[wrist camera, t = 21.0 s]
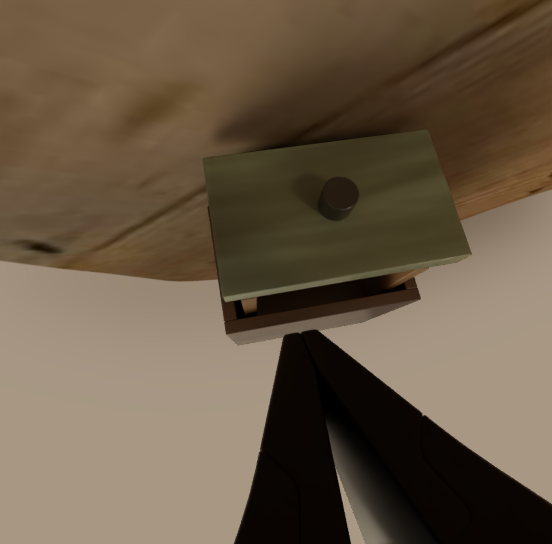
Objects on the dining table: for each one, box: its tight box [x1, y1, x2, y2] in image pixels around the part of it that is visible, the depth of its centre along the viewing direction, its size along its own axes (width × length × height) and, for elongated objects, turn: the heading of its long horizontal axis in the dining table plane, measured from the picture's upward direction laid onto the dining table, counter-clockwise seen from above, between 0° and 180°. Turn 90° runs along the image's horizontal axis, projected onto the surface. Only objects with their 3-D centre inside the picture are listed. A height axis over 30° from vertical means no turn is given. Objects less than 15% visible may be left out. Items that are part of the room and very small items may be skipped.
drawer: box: [202, 129, 472, 318], centre depth 20 cm, size 13×11×7 cm
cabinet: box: [208, 207, 421, 345], centre depth 28 cm, size 13×13×9 cm
